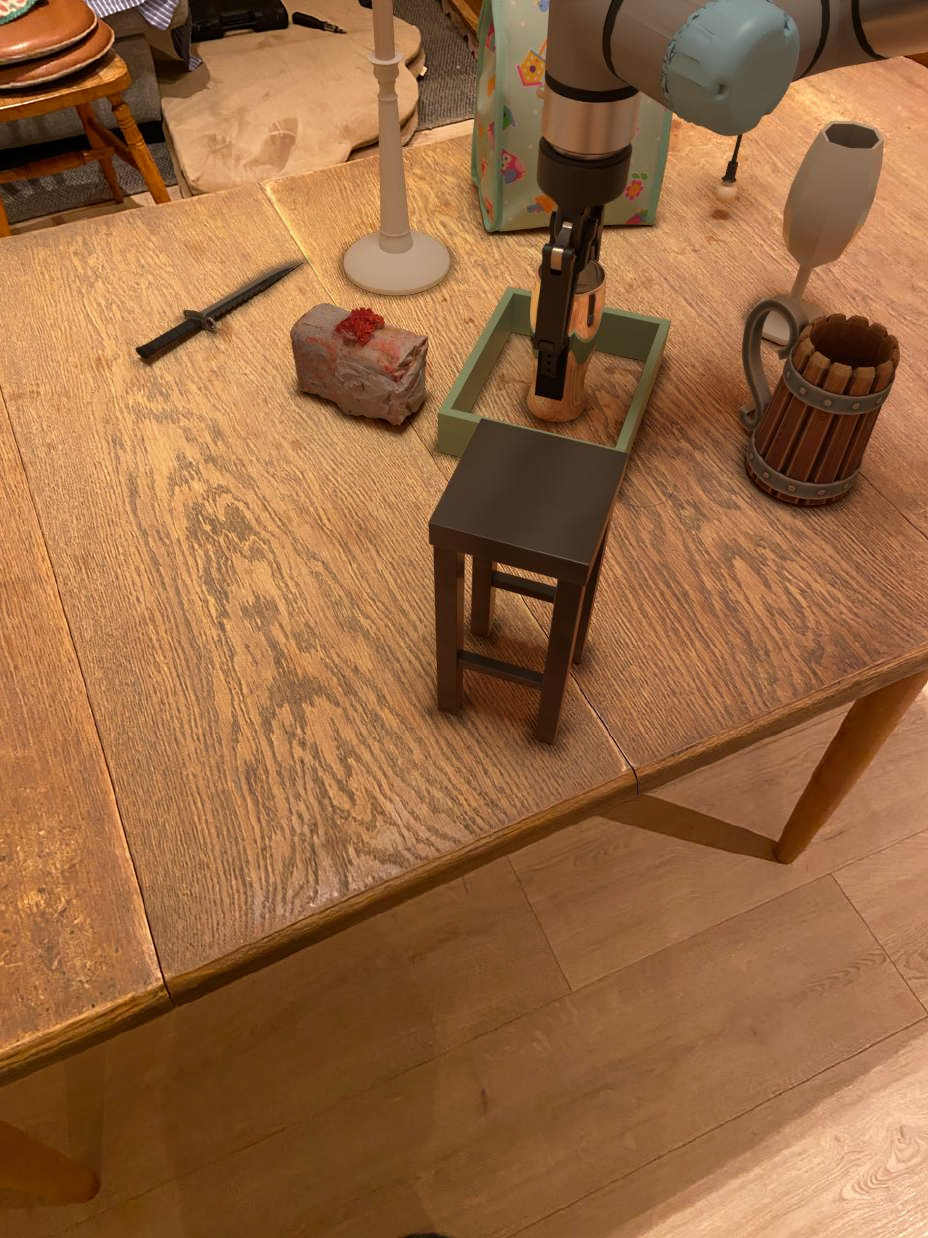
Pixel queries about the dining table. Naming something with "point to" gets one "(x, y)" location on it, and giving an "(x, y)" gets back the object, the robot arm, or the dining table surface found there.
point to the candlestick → (393, 193)
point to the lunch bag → (514, 126)
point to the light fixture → (729, 178)
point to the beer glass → (571, 343)
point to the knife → (212, 311)
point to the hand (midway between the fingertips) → (559, 371)
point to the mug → (814, 401)
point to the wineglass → (827, 206)
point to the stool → (521, 552)
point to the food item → (360, 362)
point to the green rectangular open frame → (511, 314)
